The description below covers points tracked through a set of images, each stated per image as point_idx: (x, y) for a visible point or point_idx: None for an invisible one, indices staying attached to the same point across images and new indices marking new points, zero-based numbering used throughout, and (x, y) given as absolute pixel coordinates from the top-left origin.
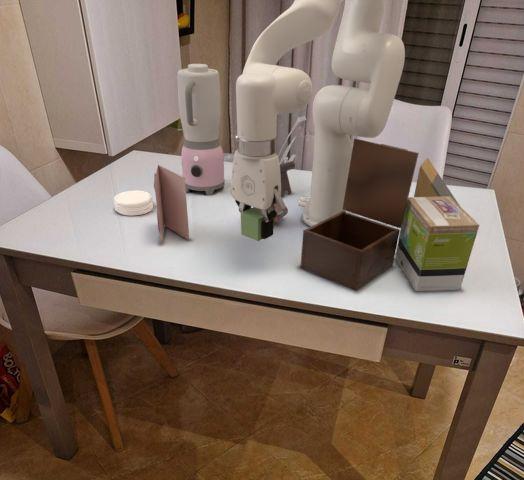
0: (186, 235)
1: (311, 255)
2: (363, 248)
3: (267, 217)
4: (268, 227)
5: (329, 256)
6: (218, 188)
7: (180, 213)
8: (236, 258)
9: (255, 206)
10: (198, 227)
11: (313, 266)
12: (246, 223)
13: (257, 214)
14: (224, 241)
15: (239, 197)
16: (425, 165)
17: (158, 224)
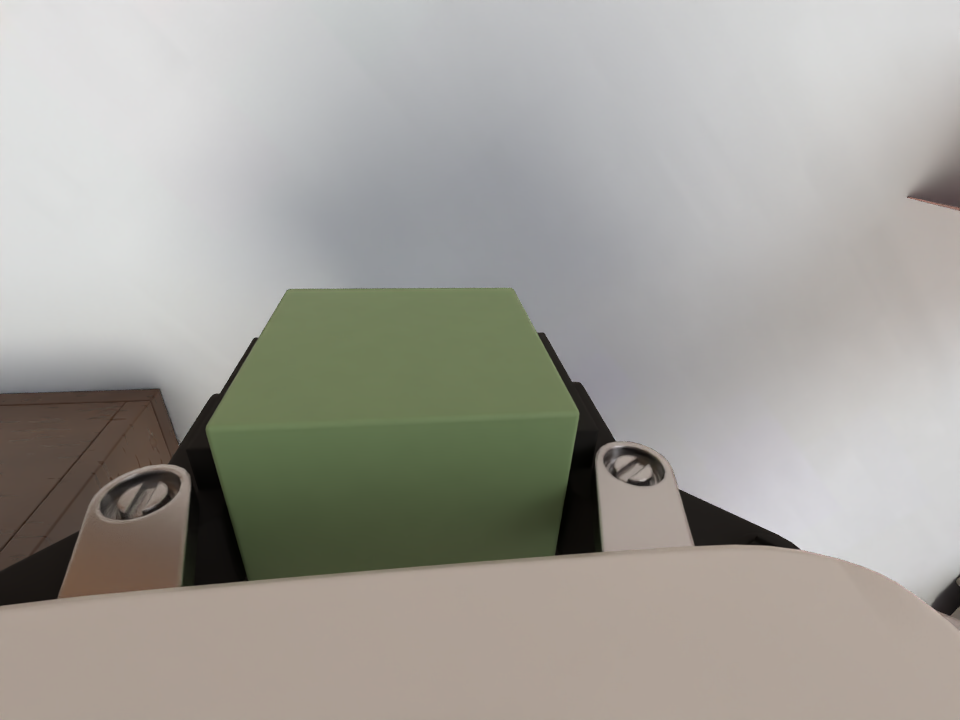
0: (953, 207)
1: (5, 464)
2: None
3: (84, 531)
4: (184, 442)
5: None
6: (953, 613)
7: None
8: (524, 220)
9: (122, 609)
10: (911, 348)
11: (28, 417)
12: (453, 351)
13: (350, 515)
14: (707, 329)
15: (713, 638)
16: None
17: None
